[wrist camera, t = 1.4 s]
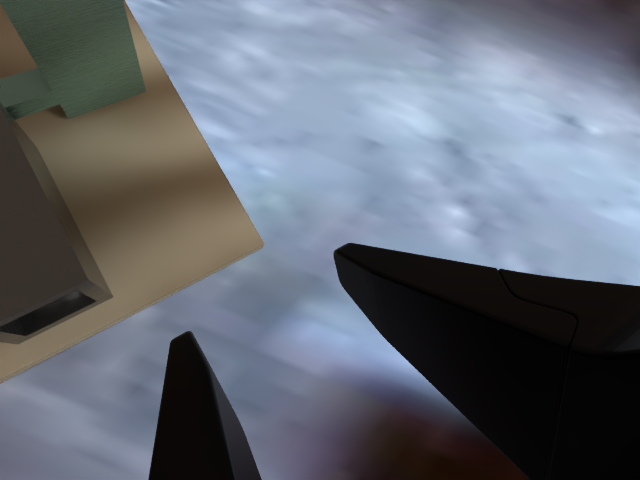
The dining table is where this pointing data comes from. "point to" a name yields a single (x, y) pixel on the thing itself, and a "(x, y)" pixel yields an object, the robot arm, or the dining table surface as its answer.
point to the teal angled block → (71, 56)
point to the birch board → (131, 197)
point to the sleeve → (38, 245)
